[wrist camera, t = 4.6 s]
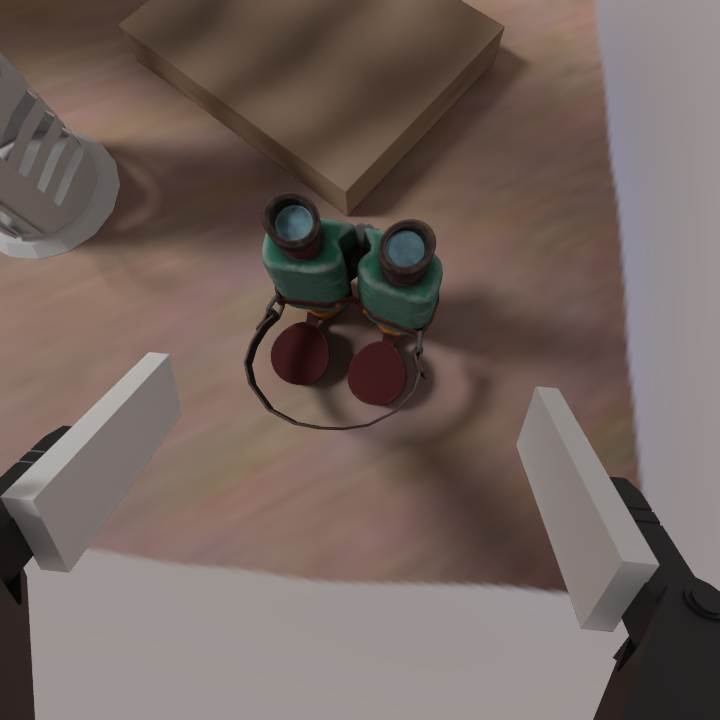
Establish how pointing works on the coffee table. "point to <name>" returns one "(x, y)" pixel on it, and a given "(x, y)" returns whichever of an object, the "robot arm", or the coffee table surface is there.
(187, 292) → the coffee table surface
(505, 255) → the coffee table surface
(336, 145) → the walnut stand
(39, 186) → the white plunger jar
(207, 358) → the coffee table surface
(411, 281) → the binoculars
